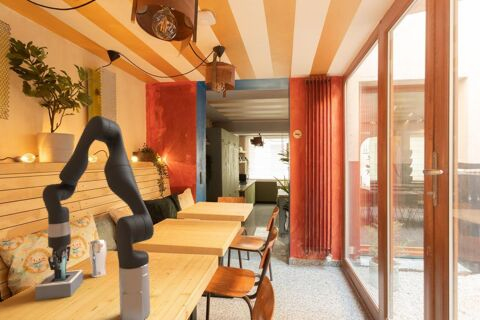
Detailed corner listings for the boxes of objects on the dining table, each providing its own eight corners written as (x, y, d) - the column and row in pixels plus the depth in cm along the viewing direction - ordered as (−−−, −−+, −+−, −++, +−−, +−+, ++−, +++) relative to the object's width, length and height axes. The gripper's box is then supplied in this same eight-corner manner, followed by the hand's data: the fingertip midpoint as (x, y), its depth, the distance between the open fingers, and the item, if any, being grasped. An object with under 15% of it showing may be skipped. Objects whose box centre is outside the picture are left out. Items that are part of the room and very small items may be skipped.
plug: (63, 286, 105) (62, 255, 105) (51, 287, 105) (51, 256, 105) (68, 281, 110) (67, 252, 109) (57, 282, 109) (56, 253, 109)
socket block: (70, 296, 102) (70, 282, 102) (35, 300, 100) (35, 285, 100) (83, 282, 114) (82, 269, 114) (51, 285, 112) (51, 272, 112)
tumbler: (103, 270, 127) (102, 238, 127) (110, 273, 122) (109, 241, 122) (87, 275, 121) (86, 242, 121) (93, 279, 117) (93, 245, 117)
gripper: (61, 237, 101) (62, 283, 101) (77, 228, 115) (78, 268, 115) (39, 239, 99) (40, 285, 99) (57, 229, 113) (58, 270, 113)
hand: (60, 276), depth 107 cm, fingers closed on plug, 3 cm apart
